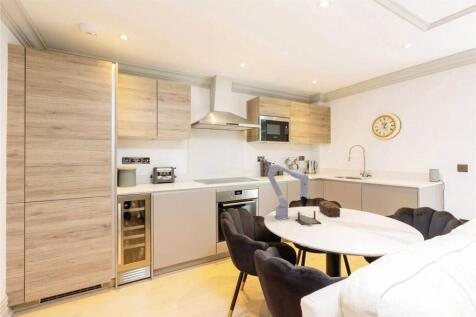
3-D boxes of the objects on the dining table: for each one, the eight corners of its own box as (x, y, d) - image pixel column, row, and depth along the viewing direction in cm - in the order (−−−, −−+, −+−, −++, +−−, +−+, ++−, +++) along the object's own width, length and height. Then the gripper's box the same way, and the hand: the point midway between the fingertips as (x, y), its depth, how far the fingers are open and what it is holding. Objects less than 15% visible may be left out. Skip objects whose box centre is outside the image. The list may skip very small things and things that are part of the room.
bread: (318, 211, 201) (318, 200, 200) (330, 211, 201) (330, 200, 201) (327, 217, 182) (327, 205, 182) (340, 217, 182) (340, 204, 182)
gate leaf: (299, 220, 170) (299, 213, 170) (301, 219, 171) (301, 213, 171) (310, 224, 160) (310, 217, 160) (311, 224, 161) (311, 217, 161)
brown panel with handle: (301, 225, 164) (301, 215, 163) (295, 220, 175) (295, 211, 175) (321, 223, 166) (321, 214, 166) (313, 219, 178) (313, 210, 178)
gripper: (313, 190, 175) (313, 207, 175) (304, 187, 189) (304, 203, 190) (304, 190, 174) (304, 208, 174) (296, 187, 188) (296, 204, 188)
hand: (304, 206), depth 182 cm, fingers closed
